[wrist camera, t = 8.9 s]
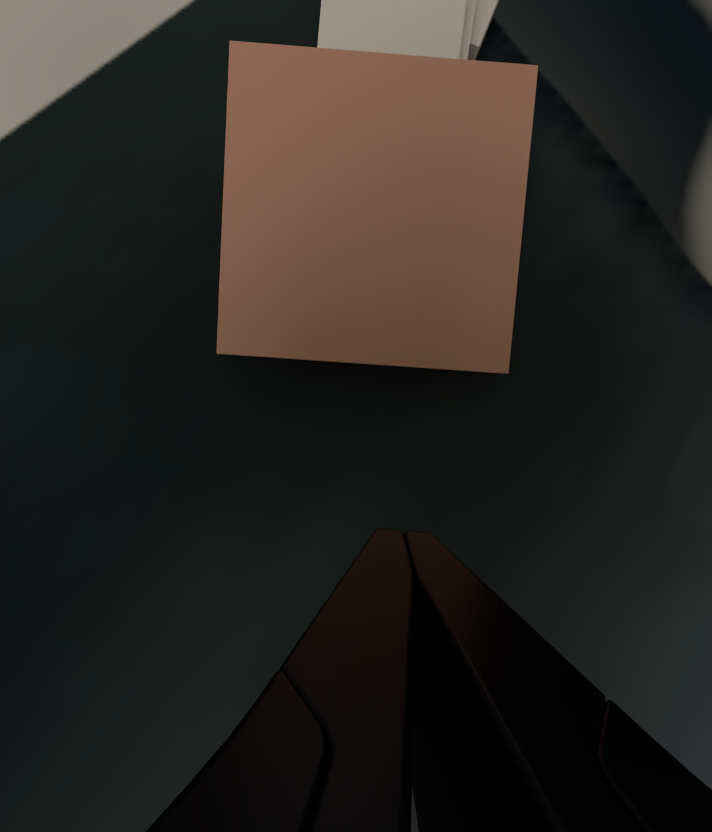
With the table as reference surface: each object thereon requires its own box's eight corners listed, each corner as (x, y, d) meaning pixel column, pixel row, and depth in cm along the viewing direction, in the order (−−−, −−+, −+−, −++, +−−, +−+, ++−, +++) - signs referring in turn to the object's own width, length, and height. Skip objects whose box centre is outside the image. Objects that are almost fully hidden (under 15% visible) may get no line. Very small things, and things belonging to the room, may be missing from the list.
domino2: (436, 238, 19) (474, -63, 18) (301, 223, 19) (328, -81, 18) (430, 246, 21) (464, -29, 19) (305, 232, 20) (330, -46, 19)
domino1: (508, 373, 18) (538, 65, 17) (216, 353, 18) (229, 40, 17) (495, 372, 19) (521, 91, 18) (227, 354, 19) (240, 69, 18)
